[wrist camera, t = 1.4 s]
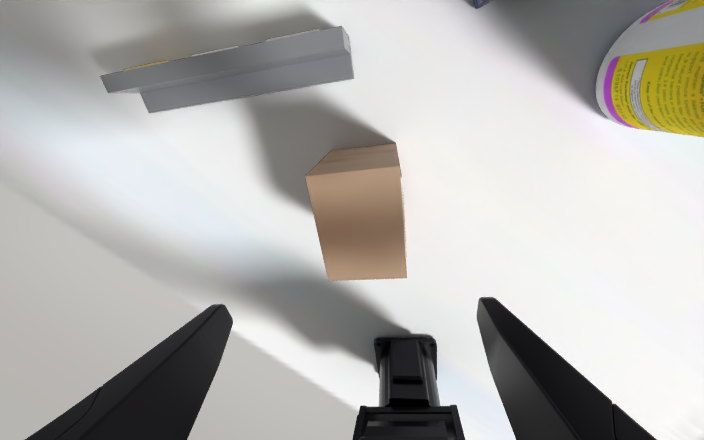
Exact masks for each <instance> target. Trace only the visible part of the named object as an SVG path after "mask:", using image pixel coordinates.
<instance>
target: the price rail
mask: <svg viewBox="0 0 704 440" xmlns="http://www.w3.org/2000/svg"><path fill="white" fill-rule="evenodd" d="M123 70H124V71H121V72H116V73H111V74H106V75H102V76H100V77H101V79H102V81H103V83H104V85H105V88H106V90H107V92H108V93H140V94H141V96H142V98H143V100H144V103H145V105H146V107H147V110H148V112H149V113H155V112H161V111H167V110H173V109H179V108H185V107H191V106H196V105H202V104H208V103H214V102H220V101H226V100H232V99H238V98H244V97H250V96H255V95H261V94H267V93H273V92H279V91H285V90H291V89H297V88H303V87H308V86H314V85H320V84H326V83H332V82H338V81H344V80H350V79H354V74H353V65H352V57H351V49H350V41H349V36H348V34H347V33H346V31H345V30H344V28H343V27H342V26H339V27H334V28H329V29H324V30H319V29H314V30H309V31H305V32H300V33H295V34H290V35H285V36H281V37H276V38H271V39H266V42H261V43H256V44H252V45H247V46H242V47H241V46H238V45H237V46H233V47H228V48H223V49H218V50H213V51H209V52H204V53H199V54H194V55H191V57H189V58H184V59H179V60H174V61H166V60H165V61H160V62H156V63H151V64H146V65H141V66H136V67H132V68H127V69H123Z"/></svg>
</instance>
